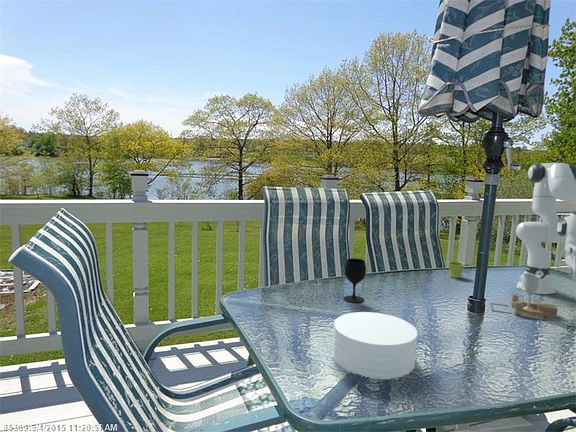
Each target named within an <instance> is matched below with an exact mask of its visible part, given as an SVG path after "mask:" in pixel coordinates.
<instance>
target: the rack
mask: <svg viewBox="0 0 576 432" xmlns="http://www.w3.org/2000/svg"><path fill="white" fill-rule="evenodd" d="M527 302H528V301H524V300H519V294H516V293H512V294H511V303H510V306H511V307H512V308H514V311H513V314H514V316H517V317H518V316H519V317H524V318H531V319H537V320H541V321H542V320H544V317H543V315H544V313H543V311H537V304H538V302H532V301H530V302H531V303H530V308H532V309H533V310H529V309H524V307H527V305H528V304H527Z"/></svg>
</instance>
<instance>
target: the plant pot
mask: <svg viewBox="0 0 576 432" xmlns="http://www.w3.org/2000/svg"><path fill="white" fill-rule="evenodd" d="M465 264H466V263H462V262H458V261H449V262H448V266H449V277H450V278H452V277H453V278H452V279H461V277H462V273H463V269H464V267H465V266H466V265H465Z"/></svg>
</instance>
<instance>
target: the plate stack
mask: <svg viewBox="0 0 576 432" xmlns="http://www.w3.org/2000/svg"><path fill="white" fill-rule="evenodd" d="M332 338H333V339H332V340H333V341H332V342H333V343H332V353H331V355H332V359H333V361H334V362H335V363H336V364H337V365H338V366H339V367H340V368H342V369H344V370H345V371H347V372H349V373H351V372H352V373H351V374H353V373H355V374H354V375H356V374H359V375H362V376H361V377H363V376H365V377H364V378H367V377H370V378H369V379H373V378H379V379H378V380H392V379H391V378H396V379H398V378H397V377H401V376H404V375H406V374H408V373H409V372H411V371H412V370H413V369H414V370H415V368H416V367H415V366H416V360H417V359H416V357H417V356H416V353H417V346H418V345H417V344H418V343H417V342H418V330H417V329H416V327H415V326H414V325H412V323H410V322H408V321H406V320H404V319H403V318H400V317H397V316H394V315H390V314H385V313H380V312H372V311H358V312H349V313H345V314H342V315H340V316H338V317H336V319H335V320H334V322H333V337H332ZM414 367H415V368H414ZM414 370H413V371H414ZM413 371H412V372H413ZM412 372H411V373H412ZM359 375H358V376H359ZM408 375H409V374H408ZM406 376H407V375H406ZM404 377H405V376H404ZM401 378H402V377H401Z"/></svg>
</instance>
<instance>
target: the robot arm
mask: <svg viewBox="0 0 576 432" xmlns="http://www.w3.org/2000/svg"><path fill="white" fill-rule="evenodd" d="M527 176H528V180H529V181H530V182H532V183H534V187H533V191H532V203H531V204H532V205H531V210H532V212H533V213H534V214H536V215H537V216H539V217H540V218H541V219H542V221H522V222H520V223H519V224H518V225H517V226H516V229H515V233H516V234H515V235H516V236H517V238H518V239H519V240H521V241H522V242H523V244H524V245H525V247H526V250H527V261H526V264H525V266H524V267H525V269H524V272H523V274H521V275H519V277H518V278H519V281H518V282H517V284H516V289H518V290H522V291H525V288H524V274H526V273H528V274H535V275H539V276H540V278H539V284H538V288H537V290H536V291H535V293H534V294H538V295H550V294H556V290H554V289H553V285H554V283H553V282H554V279H553V277H552V276H551V273H552V268H551V265H552V264H551V262H552V253H551V252H550V251H549V250H548V249H546V248H544V247H543V246H542V243H554V244H555V243H564V242H565V244H564V251H565V252H566V253H565V258H564V263H565V264H566V266H568V271H569V272H568V277H570V278H572V280H575V281H576V211H575V210H574V211H572V212H570V214H569V215H568V216H565V217H563V216H562V217H561V218H559V215H558V213H557V200H559V201H561V202H562V201H563V202H566V203H570V204H572V205H574V206H576V166H575V165H574V164H572V163H567V162H566V163H565V162H546V163H540V162H538V163H533V164H531V165H530V166H529V168H528V170H527ZM525 292H526V291H525Z"/></svg>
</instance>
